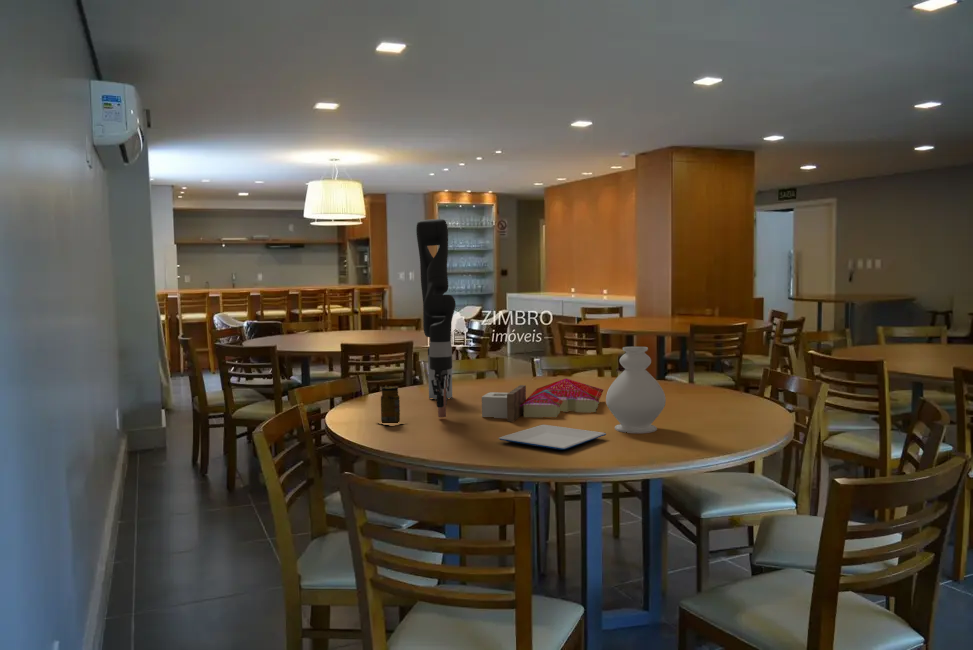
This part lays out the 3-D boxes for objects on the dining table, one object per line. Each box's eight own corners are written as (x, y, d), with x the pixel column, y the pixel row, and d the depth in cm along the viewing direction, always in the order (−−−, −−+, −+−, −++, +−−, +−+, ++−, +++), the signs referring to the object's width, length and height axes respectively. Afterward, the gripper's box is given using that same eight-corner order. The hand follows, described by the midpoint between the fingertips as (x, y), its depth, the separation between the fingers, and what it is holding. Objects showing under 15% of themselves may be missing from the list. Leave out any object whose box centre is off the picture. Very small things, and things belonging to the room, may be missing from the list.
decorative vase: (594, 429, 225) (593, 348, 223) (631, 421, 236) (630, 343, 234) (640, 438, 211) (640, 351, 209) (677, 429, 222) (677, 347, 221)
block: (489, 412, 256) (489, 392, 256) (517, 412, 254) (517, 392, 253) (482, 417, 246) (481, 396, 246) (510, 418, 244) (510, 397, 243)
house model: (596, 420, 240) (595, 389, 239) (519, 418, 245) (519, 388, 245) (603, 401, 277) (603, 374, 276) (537, 399, 282) (536, 373, 282)
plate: (542, 430, 225) (542, 424, 225) (606, 439, 211) (606, 432, 210) (497, 444, 207) (497, 437, 207) (564, 455, 193) (564, 447, 193)
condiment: (394, 420, 245) (393, 385, 244) (408, 424, 238) (407, 387, 237) (375, 423, 240) (374, 387, 239) (389, 427, 233) (387, 390, 233)
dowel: (439, 415, 247) (438, 380, 246) (447, 415, 246) (446, 380, 245) (437, 417, 244) (436, 381, 243) (444, 417, 243) (443, 381, 243)
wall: (520, 410, 258) (520, 385, 258) (526, 410, 258) (525, 385, 257) (507, 421, 239) (506, 394, 238) (513, 421, 239) (512, 394, 238)
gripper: (444, 357, 236) (446, 410, 237) (457, 352, 249) (458, 402, 251) (422, 357, 238) (424, 409, 239) (436, 352, 251) (438, 402, 253)
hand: (441, 405), depth 245 cm, fingers closed on dowel, 2 cm apart
